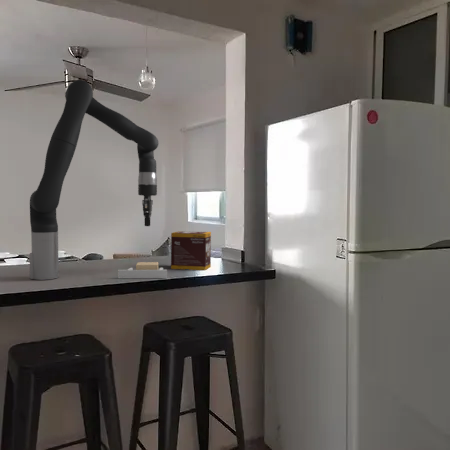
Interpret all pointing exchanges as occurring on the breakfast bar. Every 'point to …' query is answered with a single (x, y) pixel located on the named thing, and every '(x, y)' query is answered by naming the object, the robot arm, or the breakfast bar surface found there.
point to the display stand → (142, 273)
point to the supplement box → (191, 250)
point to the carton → (147, 266)
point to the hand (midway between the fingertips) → (147, 226)
